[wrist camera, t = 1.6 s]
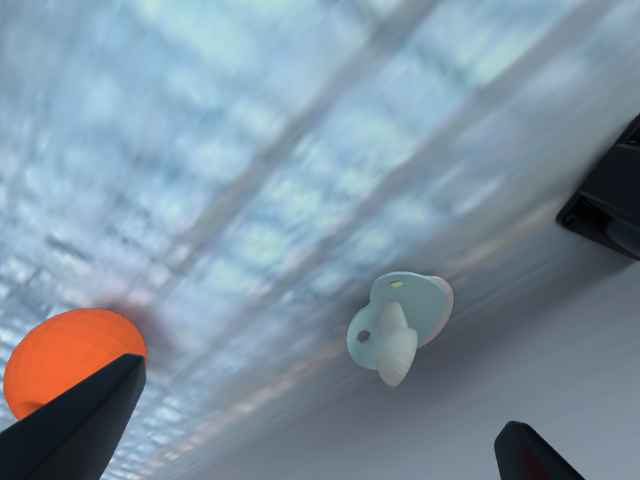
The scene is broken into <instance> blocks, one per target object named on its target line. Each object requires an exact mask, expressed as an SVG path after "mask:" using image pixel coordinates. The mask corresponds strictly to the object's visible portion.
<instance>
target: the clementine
mask: <svg viewBox="0 0 640 480" xmlns="http://www.w3.org/2000/svg"><path fill="white" fill-rule="evenodd" d="M125 353H133V354H139V355H143V356H144V358H145V369H146V362H147V349H146V346H145V342H144V340H143V337H142V334H141V333H140V331H139V330H138V328H137V327H136V326H135V325H134V324H133V323H132V322H131V321H129V320H128V319H126V318H125V317H123V316H122V315H120V314H117V313H115V312H113V311H109V310H104V309H77V310H72V311H68V312H65V313H62V314H59V315H56V316H54V317H52V318H50V319H48V320H46V321H45V322H43V323H42V324H40V325H39V326H37V327H35V328H34V329H32V330H31V331H30V332H29V333H28V334H27V335H26V337H25V338H24V339H23V340H22V341H21V342H20V343H19V344H18V346H17V347H16V348H15V349H14V351H13V352H12V354H11V357H10V359H9V361H8V363H7V365H6V369H5V373H4V384H3V391H4V395H5V399H6V401H7V403H8V405H9V408H10V409H11V411H12V413H13V414H14V416H15V417H16V418H17V419H18V420H19V421H20V420H21V419H23V418H24V417H26V416H27V415H29V414H30V413H32V412H34V411H35V410H37V409H38V408H40V407H41V406H43V405H44V404H46V403H48V402H49V401H51V400H52V399H54V398H55V397H57V396H59V395H60V394H62V393H63V392H65V391H66V390H68V389H69V388H71V387H73V386H74V385H76V384H77V383H79V382H80V381H82V380H83V379H85V378H87V377H88V376H90V375H91V374H93V373H94V372H96V371H97V370H99V369H101V368H102V367H104V366H105V365H107V364H108V363H110V362H112V361H113V360H115V359H116V358H118V357H119V356H121V355H123V354H125Z"/></svg>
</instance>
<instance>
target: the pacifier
mask: <svg viewBox="0 0 640 480" xmlns="http://www.w3.org/2000/svg"><path fill="white" fill-rule="evenodd" d="M393 281H400V282H395V283H392V284H390V283H391V282H393ZM453 302H454V295H453V290H452V288H451V286H450V285H449V283H448V282H447V281H446V280H444V279H442V278H441V277H436V276H423V275H420V274H416V273H412V272H391V273H387V274H384V275H382V276H380V277H379V278H378V279H376V280H375V282H374V283H373V284H372V287H371V290H370V303H369V304H368V305H367V306H365V307H363V308H362V309H360V310H359V311H358V312H357V313H356V314H355V316H354V317H353V318H352V320H351V322H350V324H349V326H348V330H347V337H346V343H347V349H348V352H349V354H350V356H351V358H352V359H353V360H354V361H355V362H356V363H357V364H358V365H359V366H361V367H363V368H367V369H370V370H378V371H379V374H380V376H381V378H382V379H383V380H384V382H385V383H386V384H388V385H389V386H391V387H396V386H398V385H399V384H400V383H401V382H402V380H403V379H404V378H405V376H406V374H407V373H408V371H409V369H410V367H411V364H412V362H413V359H414V356H415V353H416V349H418V348H420V347H422V346H424V345H425V344H427V343H428V342H430V341H431V340H432V339H433V338H435V337H436V336H437V334H438V333H439V332H440V331H441V330H442V329H443V328H444V326H445V324H446V323H447V321H448V319H449V317H450V315H451V312H452V309H453ZM364 330H365V331H368V332H369V333H370V336H369V337H368V339H367V340H365V341H360V340H359V339H358V338H357V337H358V334H359V333H360V332H361V331H364Z"/></svg>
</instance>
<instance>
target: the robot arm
mask: <svg viewBox="0 0 640 480" xmlns="http://www.w3.org/2000/svg"><path fill="white" fill-rule="evenodd" d="M570 216H571V219H570V220H569V221H567V222H566V220H567V218H569V217H570ZM557 222H558V224H560V225H561V226H563V227H564V228H566V229H568V230H571V231H573V232H575V233H577V234H580V235H582V236H584V237H586V238H589V239H591V240H593V241H595V242H598V243H600V244H602V245H604V246H606V247H609V248H611V249H613V250H615V251H618V252H620V253H622V254H624V255H627V256H629V257H631V258H633V259H636V260H638V261H640V115H638V116H637V118H636V119H635V120H634V121H633V123H632V124H631V125H630V126H629V128H628V129H627V130H626V131H625V133H624V134H623V135H622V136H621V138H620V139H619V140H618V141H617V143H616V144H615V145H614V146H613V148H612V149H611V150H610V151H609V153H608V154H607V155H606V156H605V158H604V159H603V160H602V161H601V163H600V164H599V165H598V166H597V168H596V169H595V170H594V171H593V173H592V174H591V175H590V176H589V178H588V179H587V180H586V181H585V183H584V184H583V185H582V186H581V188H580V189H579V190H578V191H577V193H576V194H575V195H574V196H573V198H572V199H571V200H570V201H569V203H568V204H567V205H566V206H565V208H564V209H563V210H562V211H561V213H560V214H559V215H558V217H557ZM145 382H146V369H145V358H144V356H143V355H139V354H133V353H125V354H123V355H121V356H119V357H118V358H116V359H115V360H113V361H112V362H110V363H108V364H107V365H105V366H104V367H102V368H101V369H99V370H97V371H96V372H94V373H93V374H91V375H90V376H88V377H87V378H85V379H83V380H82V381H80V382H79V383H77V384H76V385H74V386H73V387H71V388H69V389H68V390H66V391H65V392H63V393H62V394H60V395H59V396H57V397H55V398H54V399H52V400H51V401H49V402H48V403H46V404H44V405H43V406H41V407H40V408H38V409H37V410H35V411H34V412H32V413H30V414H29V415H27V416H26V417H24V418H23V419H21V420H20V421H18V422H16V423H15V424H13V425H12V426H10V427H9V428H7V429H5V430H4V431H2V432H1V433H0V480H99V479H100V477H101V476H102V474H103V472H104V470H105V469H106V467H107V465H108V463H109V461H110V460H111V458H112V456H113V454H114V451H115V449H116V447H117V445H118V443H119V441H120V439H121V437H122V434H123V432H124V430H125V428H126V426H127V424H128V421H129V419H130V417H131V415H132V413H133V411H134V408H135V406H136V404H137V402H138V400H139V398H140V395H141V393H142V391H143V389H144V386H145ZM494 450H495V455H496V459H497V464H498V468H499V473H500V477H501V480H585V479H584V478H583V477H582V476H581V475H580V474H579V473H578V472H577V471H576V470H575V469H574V468H573V467H572V466H571V465H570V464H569V463H568V462H567V461H566V460H565V459H564V458H563V457H562V456H561V455H560V454H558V453H557V452H556V451H555V450H554V449H553V448H552V447H551V446H550V445H549V444H548V443H547V442H546V441H545V440H544V439H543V438H542V437H541V436H540V435H539V434H538V433H537V432H536V431H535V430H534V429H533V428H532V427H531V426H529V425H528V424H526V423H522V422H517V421H509V422H508V423H507V424H506V425H505V427H504V428H503V429H502V431H501V432H500V434H499V435H498V436H497V438H496V439H495V443H494Z"/></svg>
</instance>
